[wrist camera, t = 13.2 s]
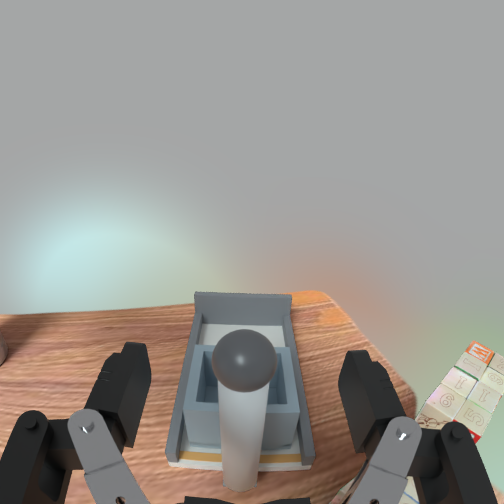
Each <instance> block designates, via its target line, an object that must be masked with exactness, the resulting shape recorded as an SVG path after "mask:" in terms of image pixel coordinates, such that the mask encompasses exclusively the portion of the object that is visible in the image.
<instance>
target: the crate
mask: <svg viewBox="0 0 504 504" xmlns="http://www.w3.org/2000/svg"><path fill="white" fill-rule="evenodd" d="M183 413H184V418H185V424H186V429H187V434H188V439H189V444H190V447H201V448H216V449H221V453H222V469H223V486H225V487H228V488H229V489H230V490H232V491H235V492H245V491H248V490H250V489H252V488H253V487H256V486H257V475H258V468H259V461H260V454H261V450H276V449H291V445H292V441H293V438H294V434H295V430H296V426H297V422H298V418H299V414H300V409H299V403H298V396H297V390H296V384H295V377H294V371H293V365H292V359H291V353H290V347H273V345H272V343H271V342H270V341H269V340H268V338H266V337H265V336H264V335H262V334H261V333H259V332H257V331H254V330H249V329H239V330H235V331H232V332H230V333H228V334H226V335H225V336H223V337H222V338H221V339H220V340H219V341H218V343H217V344H216V345H197V344H195V348H194V353H193V358H192V363H191V369H190V374H189V379H188V384H187V389H186V395H185V400H184V406H183Z"/></svg>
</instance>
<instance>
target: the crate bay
mask: <svg viewBox="0 0 504 504" xmlns="http://www.w3.org/2000/svg"><path fill="white" fill-rule="evenodd" d="M194 299H195V316H194V320H193V324H192V328H191V332H190V337H189V341H188V345H187V350H186V354H185V358H184V363H183V367H182V372H181V376H180V381H179V386H178V390H177V395H176V400H175V404H174V409H173V414H172V419H171V424H170V429H169V434H168V439H167V444H166V449H165V454H166V457H167V460H168V463H169V465H170V466H174V467H182V468H192V469H204V470H220V471H223V469H222V453H221V449H216V448H201V447H190V444H189V439H188V434H187V429H186V424H185V418H184V413H183V406H184V400H185V395H186V389H187V384H188V379H189V374H190V369H191V363H192V358H193V353H194V348H195V344H197V345H216V344H217V343H218V341H219V340H220V339H221V338H222V337H223V336H225V335H226V334H228V333H230V332H232V331H235V330H239V329H249V330H254V331H257V332H259V333H261V334H262V335H264V336H265V337H266V338H268V340H269V341H270V342H271V343H272V345H273V347H290V353H291V359H292V365H293V371H294V377H295V384H296V390H297V396H298V403H299V409H300V414H299V418H298V422H297V426H296V430H295V434H294V438H293V441H292V445H291V449H276V450H261V454H260V461H259V468H258V471H293V470H308V469H310V468H311V466H312V464H313V461H314V459H315V456H316V455H315V449H314V443H313V437H312V431H311V426H310V420H309V414H308V409H307V403H306V397H305V392H304V386H303V381H302V376H301V370H300V365H299V360H298V354H297V349H296V344H295V339H294V334H293V328H292V323H291V318H290V311H291V303H292V296H291V295H285V294H245V293H217V292H195V294H194Z"/></svg>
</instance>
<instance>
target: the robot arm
mask: <svg viewBox="0 0 504 504" xmlns="http://www.w3.org/2000/svg"><path fill="white" fill-rule="evenodd" d="M7 353H8V347H7V344H6V342H5V340H4V337H3V335H2V332H1V330H0V365H1V364H2V362H3V361H4V360H5V358H6V356H7ZM150 384H151V368H150V363H149V358H148V353H147V348H146V345H145V344H144V343H135V342H126V343H125V345H124V347H123V350H122V352H121V353H113V354H112V355H111V356H110V357H109V358H108V359H107V360H105V363H104V365H103V367H102V369H101V372H100V373H99V376H98V379H97V380H96V382H95V384H94V387H93V389H92V391H91V393H90V396H89V398H88V400H87V403H86V405H85V407H84V409H82V410H79V411H77V412H75V413H74V414H72V415H71V417H70V418H69V419H56V420H48V419H47V418H46V416H45V415H44V414H43V413H41V412H40V411H36V410H31V411H27V412H25V413H23V414H22V415H21V416H20V417H19V418H18V420H17V422H16V424H15V426H14V428H13V431H12V433H11V435H10V438H9V440H8V442H7V445H6V447H5V450H4V452H3V455H2V457H1V460H0V504H64V502H65V498H66V494H67V490H68V486H69V482H70V478H71V474H72V470H82V469H84V471H85V474H84V477H85V480H86V483H87V485H88V487H89V489H90V491H91V494H92V496H93V498H94V500H95V502H96V504H150V502H149V501H148V499H147V498H146V496H145V494H144V493H143V491H142V490H141V488H140V486H139V485H138V483H137V481H136V480H135V478H134V476H133V474H132V473H131V471H130V469H129V467H128V466H127V464H126V462H125V460H124V458H123V456H122V452H123V449H124V446H125V447H130V448H133V446H134V442H135V438H136V434H137V430H138V427H139V423H140V419H141V416H142V412H143V409H144V405H145V401H146V398H147V394H148V391H149V388H150ZM338 387H339V392H340V396H341V400H342V403H343V407H344V410H345V414H346V418H347V421H348V425H349V429H350V432H351V436H352V440H353V444H354V448H355V452H356V453H363V452H365V453H366V457H367V458H366V460H365V461H364V463H363V465H362V467H361V469H360V470H359V472H358V474H357V476H356V477H355V479H354V481H353V483H352V484H351V486H350V488H349V489H348V491H347V492H346V494H345V496H344V497H343V498H342V500H341V501H340V503H339V504H399V502H400V499H401V497H402V495H403V493H404V490H405V488H406V486H407V483H408V479H407V478H406V476H410V477H413V480H414V484H415V488H416V492H417V496H418V500H419V504H498V503H497V500H496V497H495V494H494V491H493V488H492V485H491V483H490V480H489V477H488V475H487V472H486V469H485V467H484V464H483V462H482V459H481V457H480V454H479V452H478V450H477V447H476V445H475V442H474V440H473V438H472V436H471V433H470V431H469V429H468V428H467V427H466V426H465V425H464V424H462V423H460V422H456V421H451V422H448V423H446V424H445V425H444V426H443V427H442V428H441V430H440V429H428V428H421V427H420V425H419V424H418V423H417V422H416V421H415V420H413V419H411V418H409V417H407V416H406V414H405V412H404V409H403V407H402V405H401V402H400V400H399V398H398V396H397V393H396V391H395V389H394V388H393V387H394V386H393V384H392V382H391V381H390V377H389V375H388V373H387V371H386V369H385V368H384V367H383V366H382V365H381V364H380V363H379V362H378V361H376V362H372V361H371V358H370V356H369V354H368V352H367V351H366V350H353V351H348V352H347V353H346V356H345V360H344V363H343V366H342V369H341V372H340V375H339V380H338ZM177 504H234V503H230V502H226V501H222V500H218V499H212V498H199V497H189V496H185V500H184V503H177ZM263 504H311V503H310V497H309V498H297V499H279V500H276V501H272V502H267V503H263Z"/></svg>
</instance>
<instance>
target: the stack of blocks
mask: <svg viewBox="0 0 504 504" xmlns="http://www.w3.org/2000/svg"><path fill="white" fill-rule="evenodd" d="M503 393H504V357H503V356H501V355H499V354H498V353H495V354H494V352H493V351H492V350H490V349H488V348H486V347H485V346H483V345H481V344H479V343H477V342H476V341H472V342H471V344H470V345H469V347H468V348H467V349H466V351H465V352H464V353H463V354H462V356H461V357H460V358H459V360H458V361H457V363H456V364H455V366H454V367H452V368H451V369H450V371H449V372H448V373H447V375H446V376H445V377H444V379H443V380H442V381H441V383H440V384H439V385H438V387H437V388H436V389H435V390H434V392H433V393H432V394H431V395H430V396H429V398H428V399H427V400H426V401H425V403H424V405H423V407H422V408H421V410H420V411H419V413H418V415H417V416H416V418H415V419H414V420H415V421H416V422H417V423H418V424H419V425H420V427H421V428H428V429H440V430H441V428H442V427H443V426H444V425H445V424H446V423H448V422H451V421H456V422H460V423H462V424H464V425H465V426H466V427H467V428H468V429H469V431H470V433H471V436H472V438H473V440H474V442H475V444H476V443H477V441H478V440H479V439H480V438H481V436H482V434H483V432H484V431H485V429H486V427H487V425H488V423H489V421H490V419H491V417H492V413H493V411H494V410H495V407H496V406H497V403H498V402H499V400H500V399H501V397H502V395H503ZM406 478H407V479H408V483H407V486H406V488H405V490H404V493H403V495H402V497H401V499H400V502H399V504H419V500H418V496H417V492H416V488H415V484H414V480H413V477H410V476H406ZM354 479H355V478H353V479H352V480H351V481H350V482H349V483H347V484H346V485H345V486H344V487H342V488H341V489H340V490H339V492H338V493H337V494H336V496H335V497H334V498H333V500H332V501H331V502H329V503H328V504H339V503H340V501H341V500H342V498H343V497H344V496H345V494H346V492H347V491H348V489H349V488H350V486H351V484H352V483H353V481H354Z"/></svg>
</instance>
